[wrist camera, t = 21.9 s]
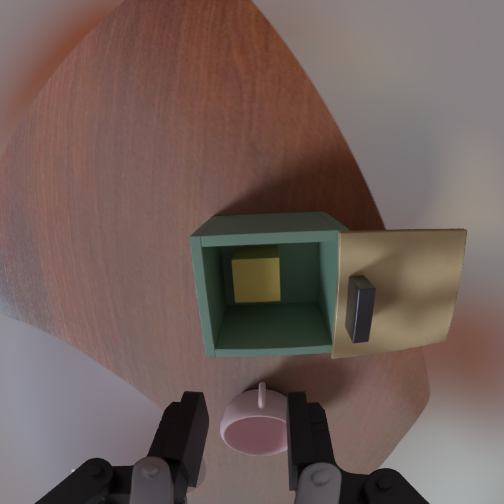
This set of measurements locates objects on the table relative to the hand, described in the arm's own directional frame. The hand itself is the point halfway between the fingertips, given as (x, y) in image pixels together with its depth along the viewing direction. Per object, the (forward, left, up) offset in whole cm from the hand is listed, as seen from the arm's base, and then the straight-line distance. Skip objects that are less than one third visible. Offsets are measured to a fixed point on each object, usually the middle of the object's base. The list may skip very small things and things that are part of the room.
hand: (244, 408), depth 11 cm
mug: (+14, +13, -19) cm, 27 cm away
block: (0, 0, -18) cm, 18 cm away
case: (-1, +1, -19) cm, 19 cm away
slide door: (-8, +8, -10) cm, 15 cm away
